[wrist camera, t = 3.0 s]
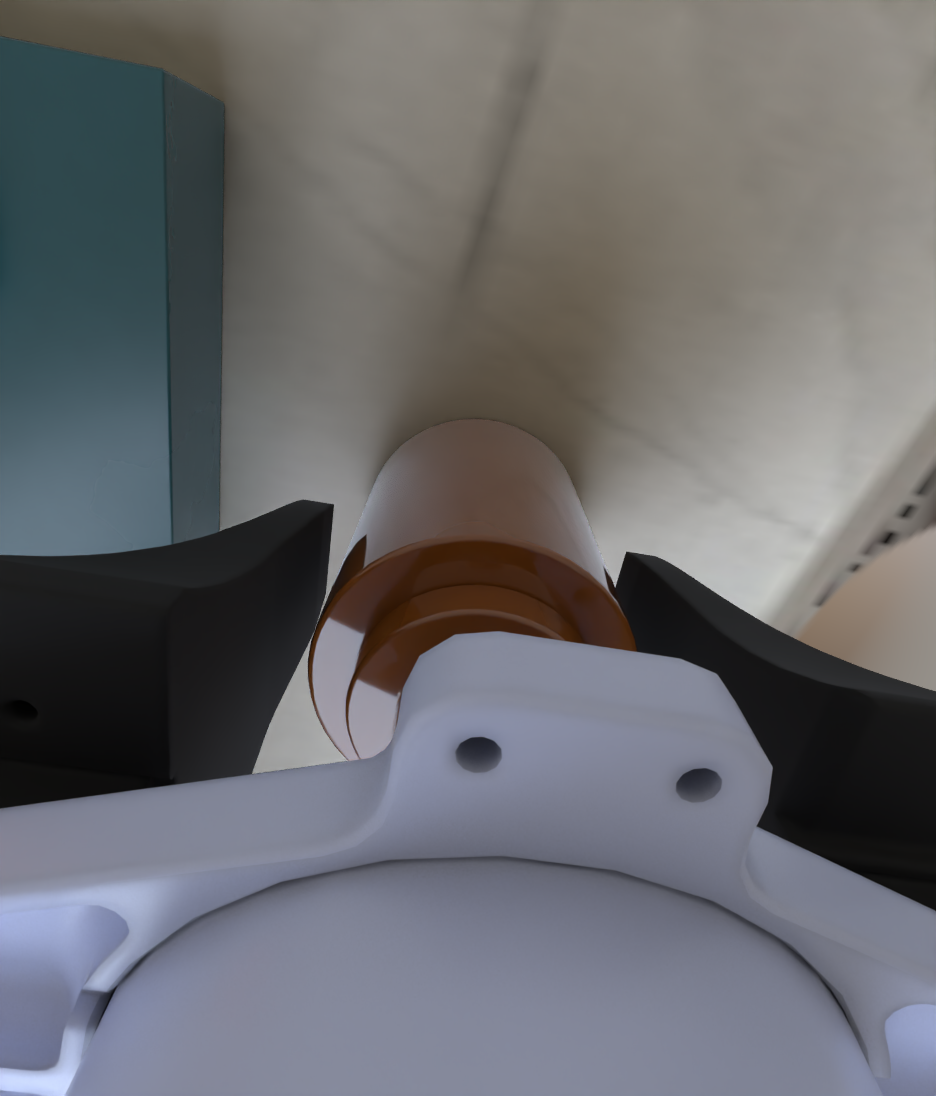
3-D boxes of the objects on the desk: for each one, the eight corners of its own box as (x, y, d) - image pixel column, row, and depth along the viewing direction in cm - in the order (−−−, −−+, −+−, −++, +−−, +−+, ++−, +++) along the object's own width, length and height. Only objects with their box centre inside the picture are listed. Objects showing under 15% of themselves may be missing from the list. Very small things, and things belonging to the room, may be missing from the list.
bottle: (616, 543, 16) (782, 897, 7) (450, 643, 17) (426, 1045, 9) (501, 372, 14) (544, 573, 6) (325, 497, 16) (144, 815, 7)
